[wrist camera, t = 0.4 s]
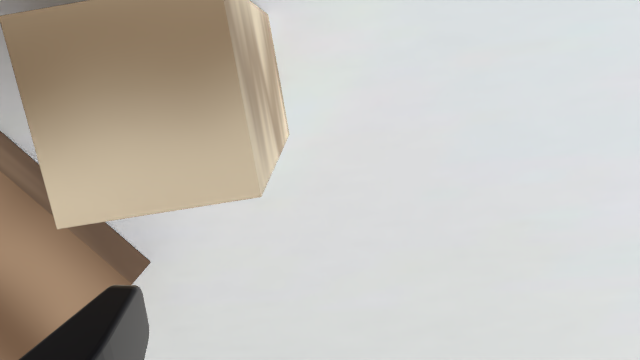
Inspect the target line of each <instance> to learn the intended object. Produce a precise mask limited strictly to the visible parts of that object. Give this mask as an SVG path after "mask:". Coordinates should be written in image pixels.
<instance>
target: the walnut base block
mask: <svg viewBox="0 0 640 360" xmlns="http://www.w3.org/2000/svg"><path fill="white" fill-rule="evenodd" d="M149 264H150V261H149V260H148V259H147V258H145V257H144V256H143V255H142V254H141V253H140V252H139V251H137V250H136V249H135V248H134V247H133V246H132V245H130V244H129V243H128V242H127V241H126V240H125V239H124V238H122V237H121V236H120V235H119V234H118V233H117V232H116V231H114V230H113V229H112V228H111V227H110V226H109V225H107V224H106V223H105V222H99V223H93V224H87V225H80V226H74V227H68V228H62V229H57V227H56V223H55V220H54V216H53V213H52V209H51V205H50V202H49V198H48V194H47V191H46V187H45V183H44V180H43V176H42V172H41V169H40V165H39V164H37V163H36V162H35V161H34V160H33V159H32V158H30V157H29V156H28V155H27V154H26V153H25V152H24V151H22V150H21V149H20V148H19V147H18V146H17V145H16V144H14V143H13V142H12V141H11V140H10V139H9V138H8V137H6V136H5V135H4V134H3V133H2V132H1V131H0V360H19V359H20V358H21V357H22V356H24V355H25V354H26V353H27V352H29V351H30V350H31V349H32V348H33V347H35V346H36V345H37V344H38V343H40V342H41V341H42V340H43V339H45V338H46V337H47V336H48V335H50V334H51V333H52V332H53V331H55V330H56V329H57V328H58V327H59V326H61V325H62V324H63V323H64V322H66V321H67V320H68V319H69V318H71V317H72V316H73V315H74V314H76V313H77V312H78V311H79V310H81V309H82V308H83V307H84V306H85V305H87V304H88V303H89V302H90V301H92V300H93V299H94V298H95V297H97V296H98V295H99V294H100V293H102V292H103V291H104V290H105V289H107V288H108V287H110V286H112V285H132V284H133V282H134V281H135V280H136V279H137V278H138V277H139V275H140V274H141V273H142V272H143V271H144V269H145V268H146V267H147V266H148V265H149Z"/></svg>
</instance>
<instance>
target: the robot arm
mask: <svg viewBox="0 0 640 360" xmlns="http://www.w3.org/2000/svg"><path fill="white" fill-rule="evenodd" d="M148 339H149V324H148V319H147V313H146V308H145V303H144V298H143V293H142V291H141V289H140V287H138V286H136V285H112V286H110V287H108V288H107V289H105V290H104V291H103V292H102V293H100V294H99V295H98V296H97V297H95V298H94V299H93V300H92V301H90V302H89V303H88V304H87V305H85V306H84V307H83V308H82V309H81V310H79V311H78V312H77V313H76V314H74V315H73V316H72V317H71V318H69V319H68V320H67V321H66V322H64V323H63V324H62V325H61V326H59V327H58V328H57V329H56V330H55V331H53V332H52V333H51V334H50V335H48V336H47V337H46V338H45V339H43V340H42V341H41V342H40V343H38V344H37V345H36V346H35V347H33V348H32V349H31V350H30V351H29V352H27V353H26V354H25V355H24V356H22V357H21V358H20V359H19V360H144V358H145V353H146V349H147V344H148Z"/></svg>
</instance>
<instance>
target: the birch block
mask: <svg viewBox="0 0 640 360" xmlns="http://www.w3.org/2000/svg"><path fill="white" fill-rule="evenodd" d="M0 23H1V26H2V30H3V34H4V37H5V41H6V45H7V48H8V52H9V56H10V59H11V63H12V67H13V70H14V74H15V78H16V81H17V85H18V88H19V92H20V96H21V99H22V103H23V107H24V110H25V114H26V118H27V121H28V125H29V129H30V132H31V136H32V140H33V143H34V147H35V151H36V154H37V158H38V161H39V165H40V169H41V172H42V176H43V180H44V183H45V187H46V191H47V194H48V198H49V202H50V205H51V209H52V213H53V216H54V220H55V223H56V227H57V229H62V228H68V227H74V226H80V225H87V224H93V223H99V222H106V221H112V220H118V219H125V218H131V217H137V216H144V215H150V214H156V213H163V212H169V211H175V210H182V209H188V208H194V207H201V206H207V205H213V204H220V203H226V202H232V201H239V200H245V199H251V198H257V197H261V196H262V194H263V192H264V190H265V188H266V185H267V183H268V181H269V179H270V176H271V174H272V172H273V170H274V168H275V165H276V163H277V161H278V159H279V156H280V154H281V152H282V150H283V148H284V145H285V143H286V141H287V139H288V136H289V130H288V124H287V119H286V113H285V107H284V102H283V96H282V90H281V85H280V79H279V73H278V68H277V62H276V57H275V51H274V45H273V40H272V34H271V28H270V23H269V17H268V14H266V13H265V12H264V11H263V10H261V9H260V8H259V7H257V6H256V5H255V4H253V3H252V2H251V1H249V0H88V1H82V2H76V3H71V4H65V5H59V6H53V7H48V8H42V9H36V10H31V11H25V12H19V13H13V14H8V15H2V16H0Z"/></svg>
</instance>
